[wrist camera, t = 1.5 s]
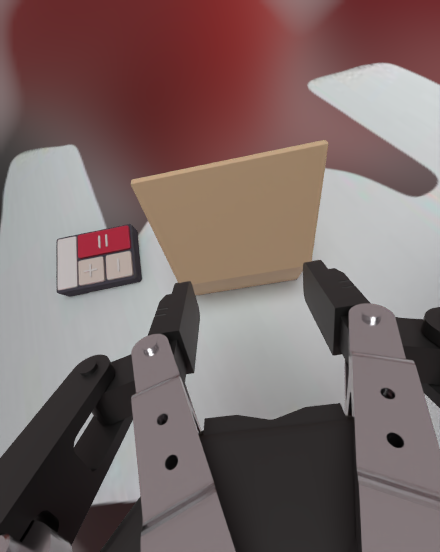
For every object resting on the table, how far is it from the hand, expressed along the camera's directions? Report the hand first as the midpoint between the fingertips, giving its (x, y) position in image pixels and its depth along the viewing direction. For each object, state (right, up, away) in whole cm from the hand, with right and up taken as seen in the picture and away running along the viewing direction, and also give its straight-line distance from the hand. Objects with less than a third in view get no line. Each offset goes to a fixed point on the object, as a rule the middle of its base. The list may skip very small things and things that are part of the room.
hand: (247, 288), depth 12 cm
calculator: (-24, +3, +38) cm, 46 cm away
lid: (+1, +6, +17) cm, 18 cm away
